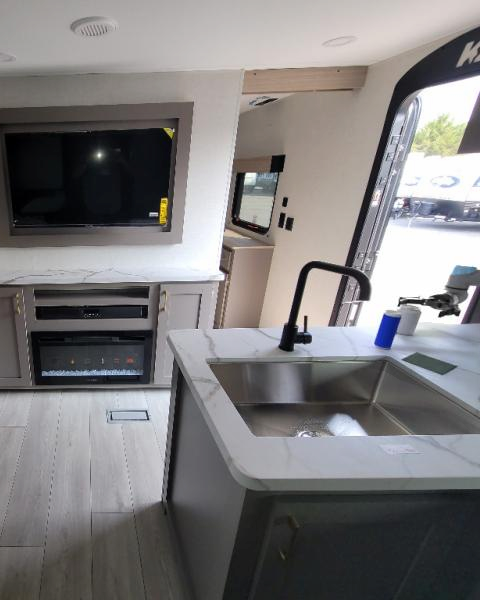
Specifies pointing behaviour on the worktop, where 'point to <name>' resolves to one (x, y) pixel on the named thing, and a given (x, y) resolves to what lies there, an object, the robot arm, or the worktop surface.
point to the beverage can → (387, 329)
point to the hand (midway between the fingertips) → (418, 309)
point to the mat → (429, 363)
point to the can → (408, 319)
